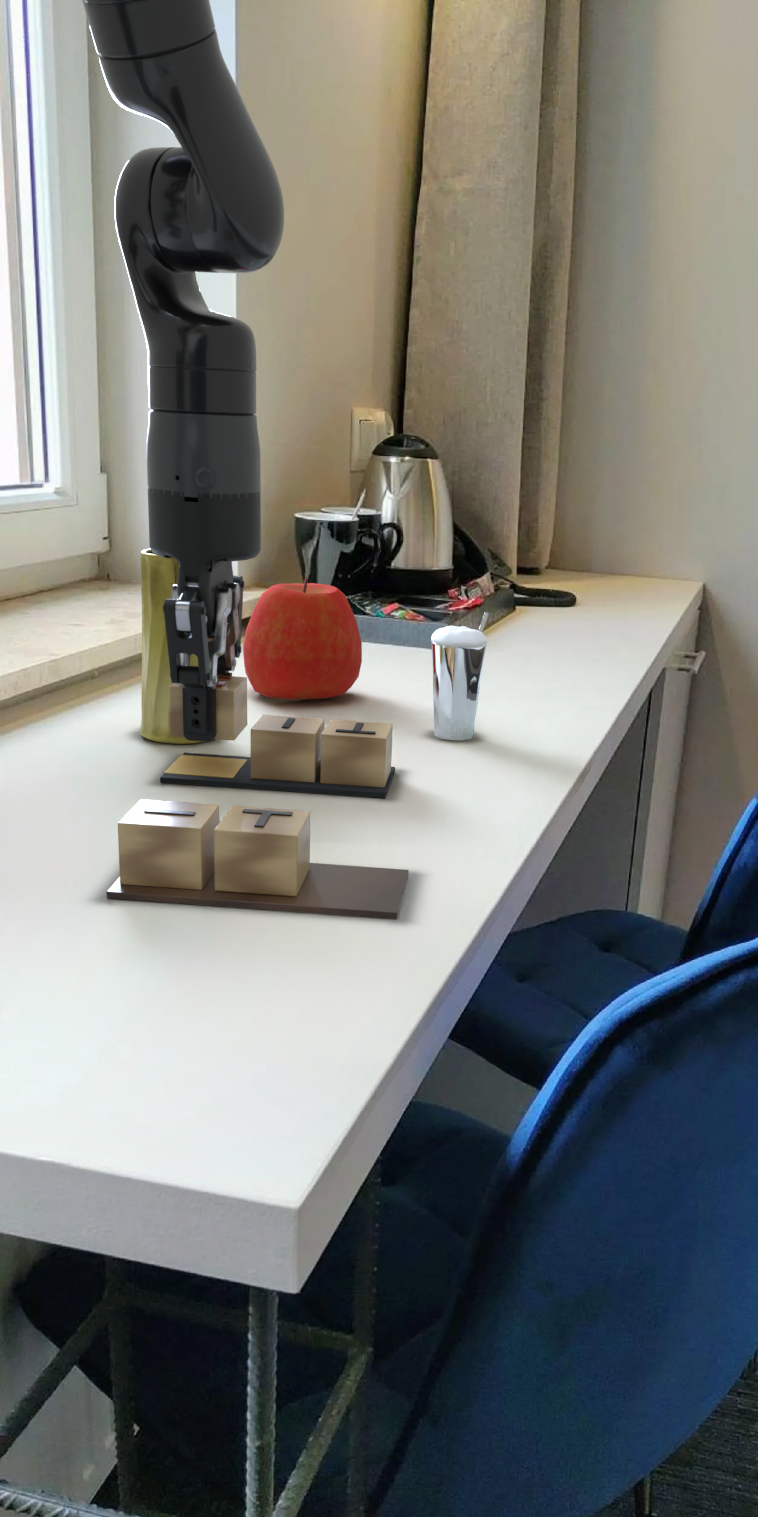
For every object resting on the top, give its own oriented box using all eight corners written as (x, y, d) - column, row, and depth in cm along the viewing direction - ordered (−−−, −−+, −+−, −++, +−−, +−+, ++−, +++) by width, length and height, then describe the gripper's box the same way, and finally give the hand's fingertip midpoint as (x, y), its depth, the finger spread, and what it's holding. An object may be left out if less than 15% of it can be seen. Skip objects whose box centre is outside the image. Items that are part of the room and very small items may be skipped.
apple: (301, 715, 115) (302, 590, 111) (216, 693, 121) (215, 574, 117) (384, 698, 123) (388, 581, 119) (300, 678, 129) (302, 566, 125)
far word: (159, 782, 94) (158, 725, 92) (184, 757, 100) (183, 703, 99) (385, 798, 93) (387, 741, 92) (395, 772, 100) (397, 718, 98)
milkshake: (498, 737, 112) (507, 617, 108) (453, 745, 108) (460, 622, 105) (460, 725, 115) (467, 608, 111) (415, 734, 111) (420, 613, 107)
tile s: (169, 736, 94) (168, 684, 93) (185, 721, 98) (184, 671, 97) (234, 741, 94) (233, 689, 92) (247, 725, 98) (247, 675, 97)
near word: (106, 898, 73) (103, 827, 71) (141, 856, 79) (139, 790, 78) (397, 919, 72) (400, 848, 71) (408, 875, 79) (411, 809, 77)
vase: (141, 725, 109) (135, 546, 104) (217, 726, 110) (215, 548, 105) (138, 744, 103) (132, 555, 98) (219, 745, 104) (217, 558, 99)
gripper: (176, 474, 97) (182, 705, 103) (118, 488, 83) (128, 753, 90) (278, 480, 96) (278, 712, 103) (236, 495, 83) (239, 760, 89)
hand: (208, 729), depth 96 cm, fingers closed on tile s, 4 cm apart
